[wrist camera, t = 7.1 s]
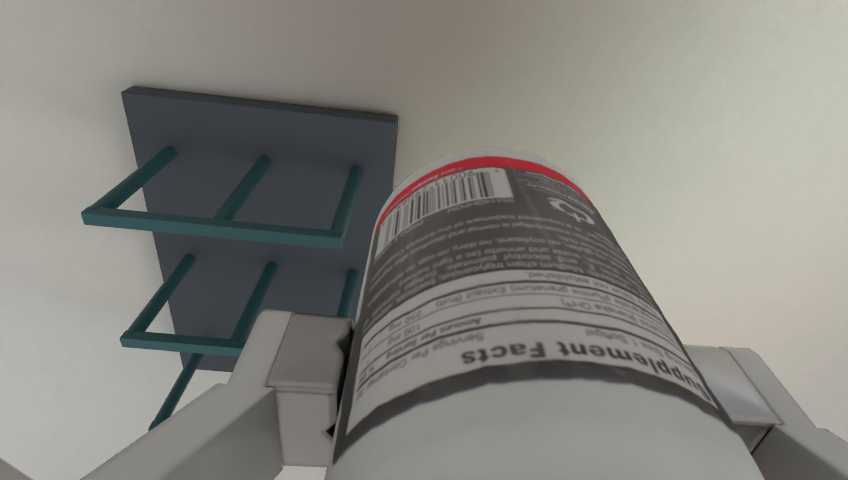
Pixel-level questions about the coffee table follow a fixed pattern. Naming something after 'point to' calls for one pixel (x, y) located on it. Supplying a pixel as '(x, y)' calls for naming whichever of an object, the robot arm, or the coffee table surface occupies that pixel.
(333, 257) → the rack
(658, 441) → the pill bottle
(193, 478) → the robot arm
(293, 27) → the coffee table surface
